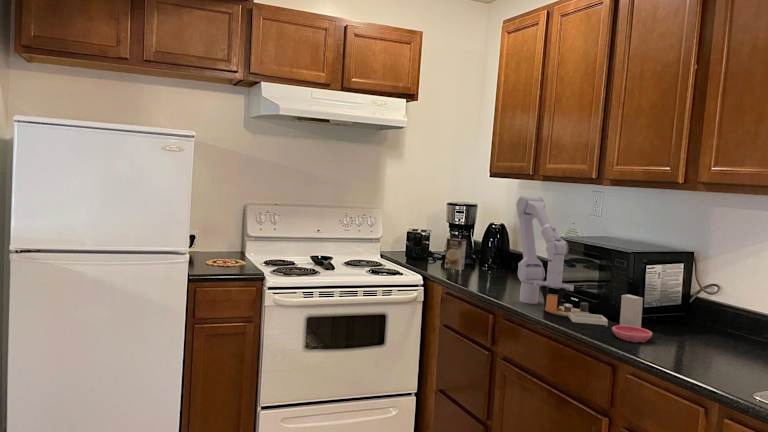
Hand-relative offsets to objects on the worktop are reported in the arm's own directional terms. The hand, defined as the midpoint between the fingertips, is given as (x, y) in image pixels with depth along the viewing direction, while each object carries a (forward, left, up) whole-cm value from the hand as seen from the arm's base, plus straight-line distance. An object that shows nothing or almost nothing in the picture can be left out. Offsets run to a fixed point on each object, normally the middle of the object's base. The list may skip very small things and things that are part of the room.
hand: (551, 306), depth 227 cm
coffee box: (-89, -36, -3) cm, 96 cm away
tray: (+12, +11, -2) cm, 16 cm away
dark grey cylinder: (-1, +6, -1) cm, 7 cm away
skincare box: (+16, +24, -3) cm, 29 cm away
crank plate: (-1, +6, -2) cm, 7 cm away
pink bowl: (+28, +21, -3) cm, 35 cm away
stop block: (0, 0, -2) cm, 2 cm away
